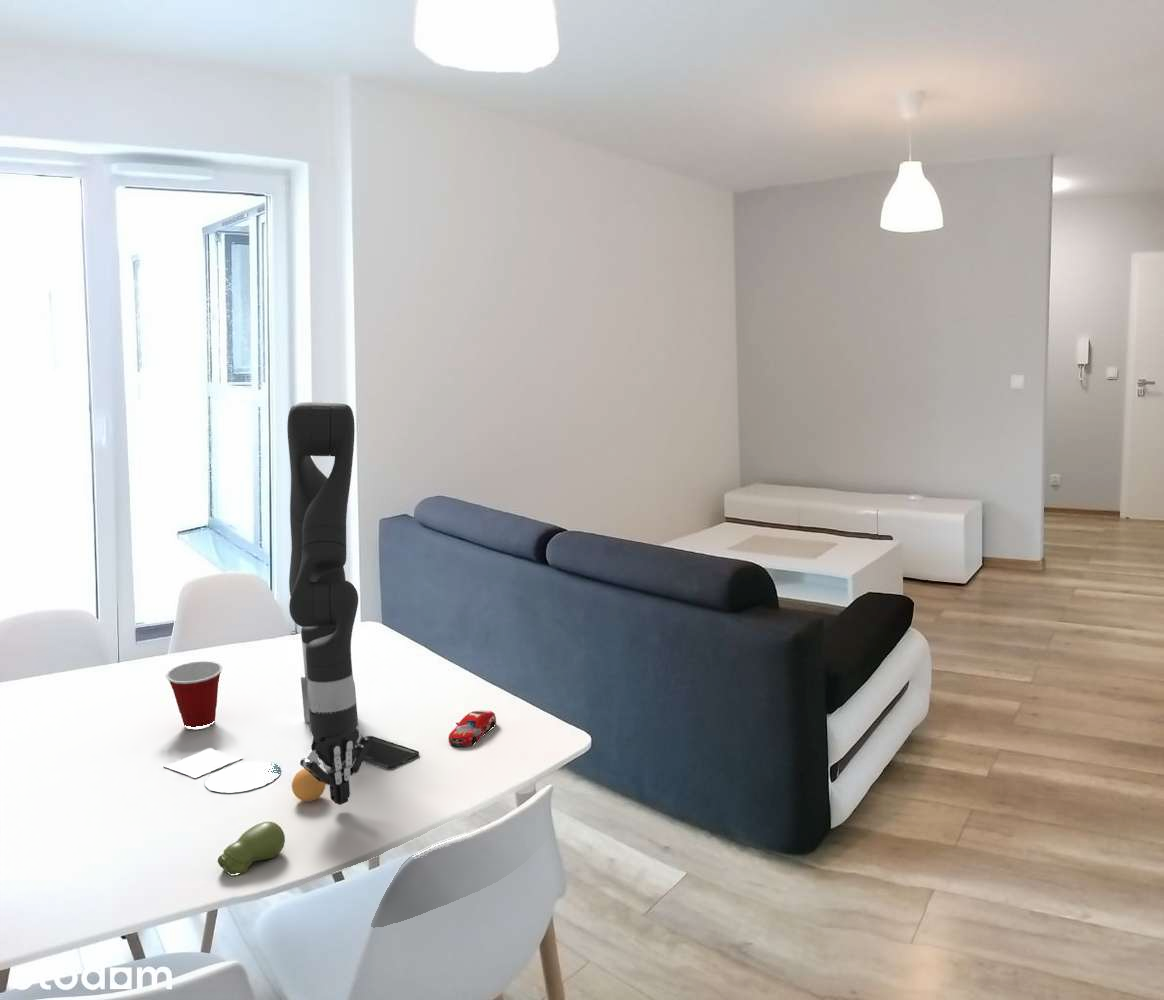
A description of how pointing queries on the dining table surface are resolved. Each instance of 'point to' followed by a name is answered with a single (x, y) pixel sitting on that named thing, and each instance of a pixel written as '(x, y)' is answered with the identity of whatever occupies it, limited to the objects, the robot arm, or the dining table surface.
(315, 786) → the ball
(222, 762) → the dining table surface
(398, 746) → the phone
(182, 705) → the plastic cup
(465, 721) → the race car
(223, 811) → the dining table surface
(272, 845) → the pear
